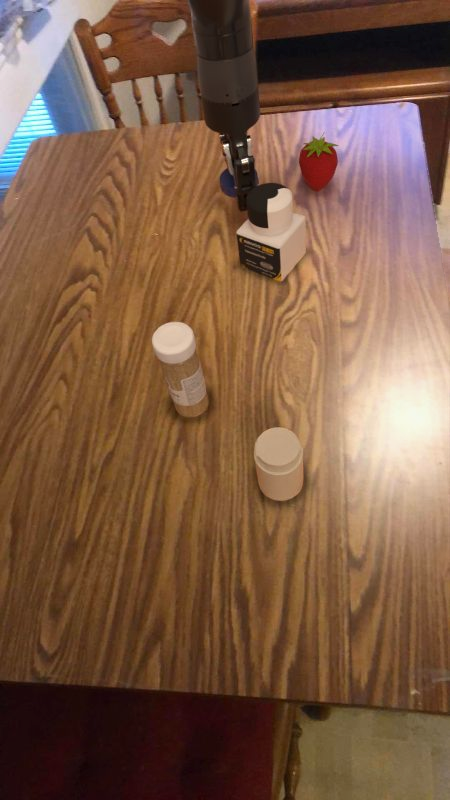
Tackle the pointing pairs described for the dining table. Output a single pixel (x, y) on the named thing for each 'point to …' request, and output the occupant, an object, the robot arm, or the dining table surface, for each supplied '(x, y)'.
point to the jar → (279, 463)
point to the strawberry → (318, 163)
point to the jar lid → (231, 183)
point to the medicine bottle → (271, 232)
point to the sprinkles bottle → (181, 367)
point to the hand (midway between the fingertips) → (241, 196)
